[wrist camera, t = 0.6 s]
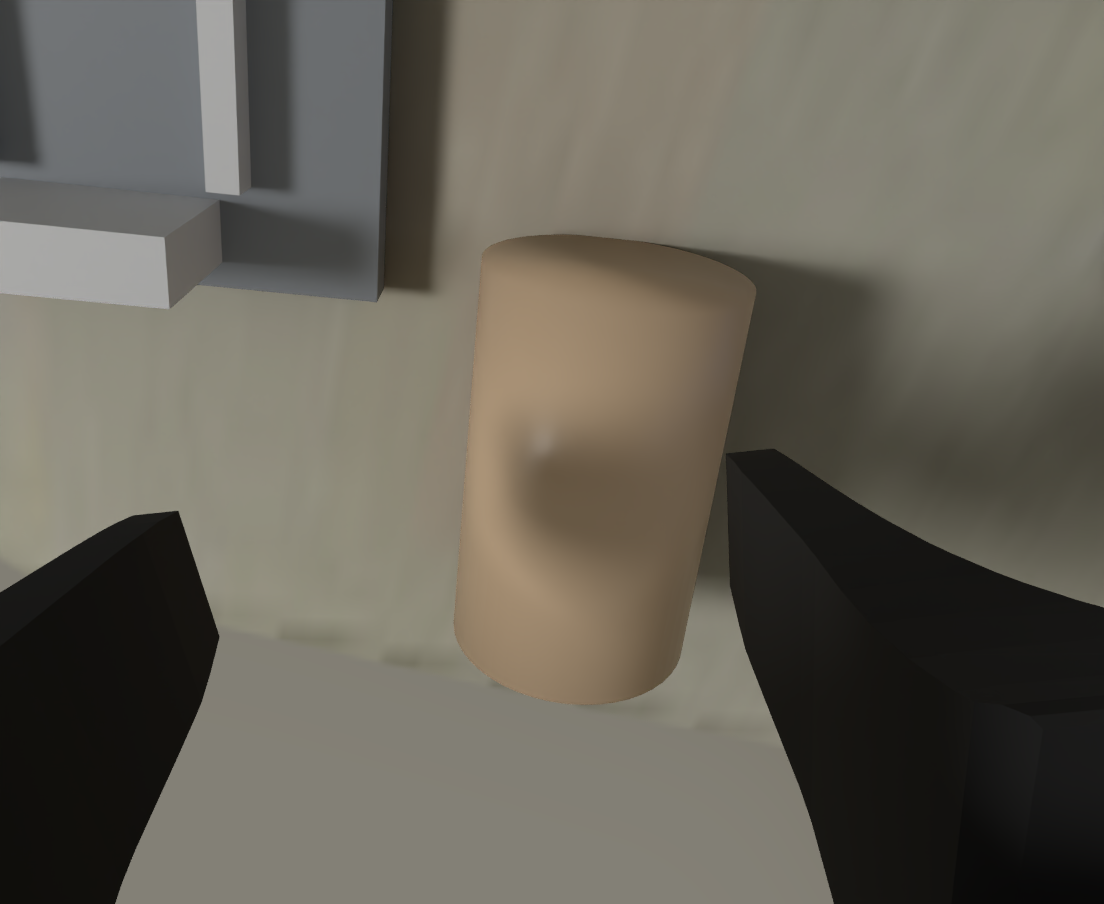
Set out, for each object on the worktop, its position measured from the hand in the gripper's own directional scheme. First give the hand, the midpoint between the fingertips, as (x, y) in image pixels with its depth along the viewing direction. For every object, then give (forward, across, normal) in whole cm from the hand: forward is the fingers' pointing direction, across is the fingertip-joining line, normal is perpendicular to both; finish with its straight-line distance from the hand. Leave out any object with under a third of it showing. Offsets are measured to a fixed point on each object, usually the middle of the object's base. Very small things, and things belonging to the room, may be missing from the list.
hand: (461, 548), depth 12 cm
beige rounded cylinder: (+6, -2, +2) cm, 7 cm away
